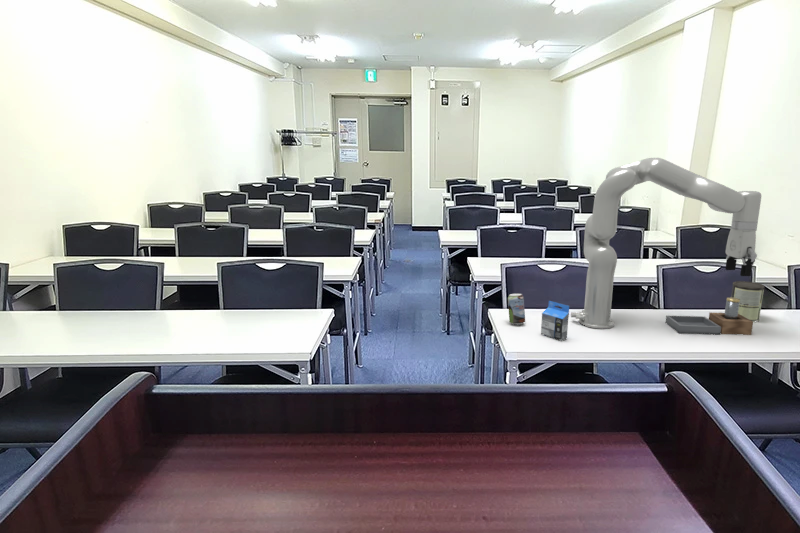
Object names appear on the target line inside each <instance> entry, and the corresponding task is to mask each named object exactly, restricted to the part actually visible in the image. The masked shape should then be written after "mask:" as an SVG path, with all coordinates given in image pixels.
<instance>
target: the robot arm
mask: <svg viewBox="0 0 800 533" xmlns="http://www.w3.org/2000/svg"><path fill="white" fill-rule="evenodd" d="M646 182H652V183H653V184H656V185H658V186H660V187H662V188H665V189H667V190H668V191H671V192H673V193H675V194H678V195H680V196H682V197H685V198H687V199H694V200H697V201H700V202H703V203H705V204H707V206H708V207H709V209H711V210H713V211H715V212H721V213H725V214H731V215H732V217H731V225H730V226H731V227H730V229H729V230H730V231H729V233H728V237H727V241H726V245H725V254H726V256H725V259H726V262H725V270H726V271H735V270H736V268H737V261H738V259H741V261H742V264H741V268H740V272H739V273H740V274H739V275H740V276H741V277H750V276H752V271H753V266H754V264H755V262H756V258H757V256H758V254H757V253H756V252H755V251H756V244H757V243H756V239H757V235H756V234H757V231H758V224H759V223H758V222H759V218H760V217H759V216H760V209H761V204H762V203H761V202H762V193H761V192H760V191H756V190H755V191H754V190H739V191H736V190H735V189H732V188H731V187H728V186H726V185H724V184H721V183H719V182H717V181H714V180H712V179H709V178H707V177H704V176H702V175H700V174H697V173H694V172H692V171H690V170H688V169H686V168H684V167H681V166H679V165H677V164H675V163H673V162H670V161H669V160H666V159H664V158H661V157H647V158H644V159H641V160H637V161H634V162H631V163H628V164H624V165H621V166H617V167H614V168H612V169H611V170H609V171H608V172H607V174H606V175H605V178H604V180H603V181H602V182H601V184H600V185H599V187H598V188H597V190H596V192H595V195H594V201H593V207H592V214H591V215H590V216H588V218H587V220H586V222H585V226H584V240H583V255H584V256H583V257H584V258H585V259H586V261H588V267H587V272H586V279H585V280H586V282H585V293H584V294H585V296H584V308H583V309H582V310H581V311H579V312H571V313H570V317H571V318H575V319H576V320H578V321H579V322H578V323H581V324H580V325H582V324H583V325H582V326H584V325H585V326H584V327H588V328H593V329H601V330H602V329H603V330H604V329H610V328H611V329H612V328H613V327H614V326H615V322H614V320H612V319H611V311H612V301H613V290H614V289H613V288H614V277H615V273H616V266H617V263H618V256H617V252H616V251H615V249H614V247H613V246H611V245H610V240H611V239H613V237H615V235H616V233H617V230H618V214H619V212H618V211H619V206H620V200H621V198H622V197H623V195H624V194H625V193H626V192H628V191H629V190H631V189H633V188H634V187H635V186H636V185H640V184H642V183H646Z"/></svg>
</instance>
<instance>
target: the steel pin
mask: <svg viewBox="0 0 800 533" xmlns="http://www.w3.org/2000/svg"><path fill="white" fill-rule="evenodd" d="M739 303H740V299H738V298H731V296H730V297H726V302H725V308H724V309H725V310H724V313H725V314H724V318H726V319H737V317H738V310H739Z"/></svg>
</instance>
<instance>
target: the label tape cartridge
mask: <svg viewBox="0 0 800 533" xmlns="http://www.w3.org/2000/svg"><path fill="white" fill-rule="evenodd" d="M556 306H557V307H556ZM559 307H560V308H559ZM569 315H570V305H568V304H564V303H560V302H556V301H551V300H548V306H547V308H545V309H544V311H543V312H542V313H541V324H540V325H541V328H540V335H542V334H544V335H543V336H545V335H547V336H546V337H548V336H549V338H551V337H552V338H551V339H554V338H555V340H557V339H558V341H560V340H561V341H560V342H562V340H563V341H565V340H567V339H568V329H569V317H570V316H569ZM566 338H567V339H566ZM564 339H565V340H564Z"/></svg>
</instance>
